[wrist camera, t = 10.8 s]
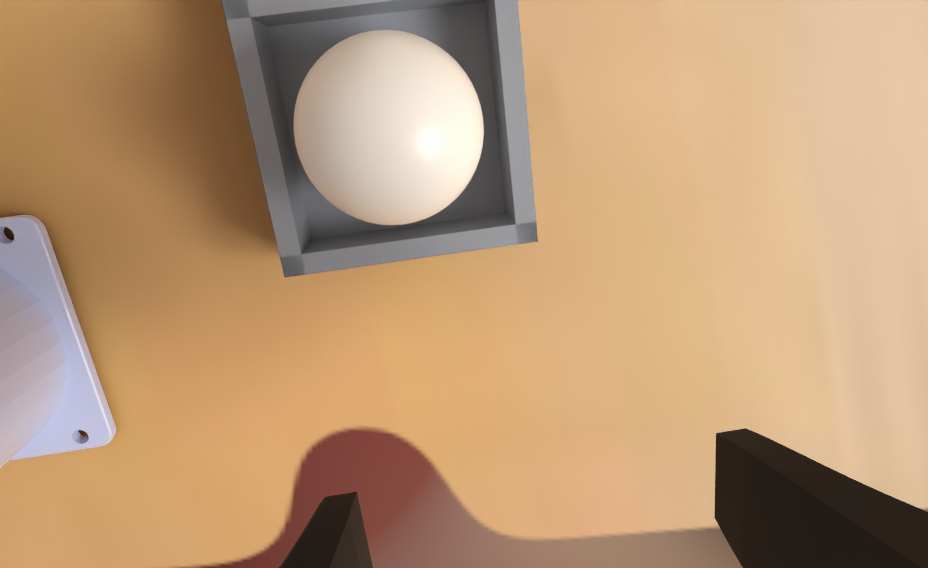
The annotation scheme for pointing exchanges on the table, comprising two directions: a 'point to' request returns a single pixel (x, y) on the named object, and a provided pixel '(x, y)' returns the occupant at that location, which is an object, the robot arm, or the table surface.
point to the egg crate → (386, 127)
